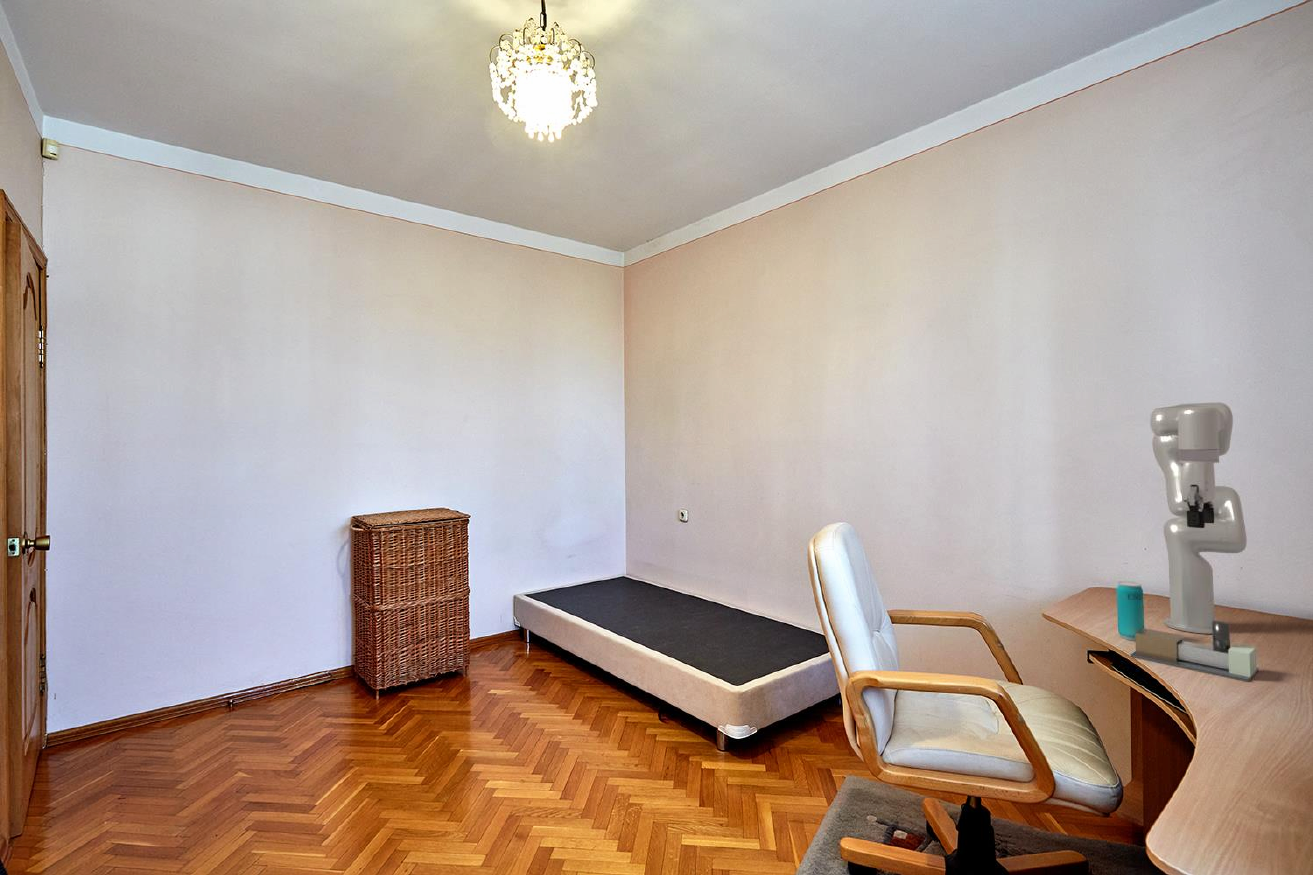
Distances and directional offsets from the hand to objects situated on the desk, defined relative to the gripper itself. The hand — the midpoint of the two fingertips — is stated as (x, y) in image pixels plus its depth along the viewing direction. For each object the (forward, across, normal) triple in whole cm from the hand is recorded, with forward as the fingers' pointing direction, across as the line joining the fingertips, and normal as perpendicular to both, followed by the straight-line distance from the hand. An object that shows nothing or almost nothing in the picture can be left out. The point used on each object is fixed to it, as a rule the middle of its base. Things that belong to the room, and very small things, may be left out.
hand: (1200, 525), depth 152 cm
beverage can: (+33, -3, -16) cm, 37 cm away
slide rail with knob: (+33, +9, -1) cm, 34 cm away
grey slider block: (+33, +9, +2) cm, 34 cm away
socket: (+32, +9, +8) cm, 35 cm away
